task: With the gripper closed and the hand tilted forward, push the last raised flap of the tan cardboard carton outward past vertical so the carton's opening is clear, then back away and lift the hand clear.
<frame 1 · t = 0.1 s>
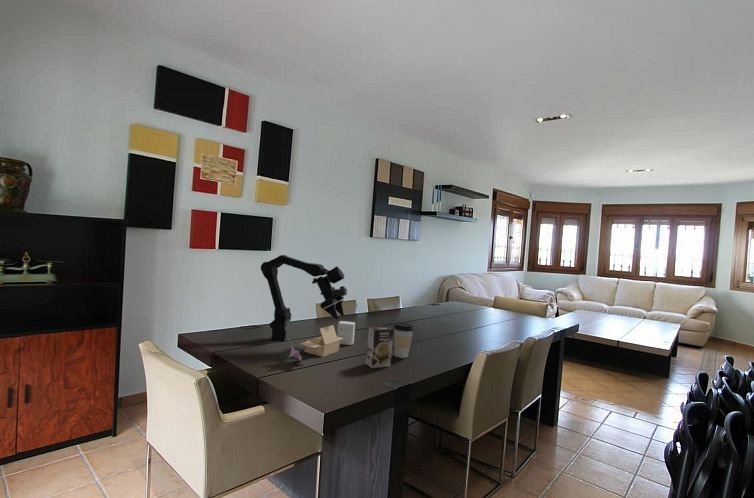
hand: (340, 317, 190), 15 cm above the table, tool tilted 35°, fingers open, 9 cm apart
lily: (294, 364, 163), on the table
coffee box: (377, 365, 170), on the table
carton: (321, 351, 183), on the table
coffee cup: (401, 356, 186), on the table
flap: (329, 334, 181), point 8 cm above the table, hinge at 62.0°
small box: (345, 343, 201), on the table
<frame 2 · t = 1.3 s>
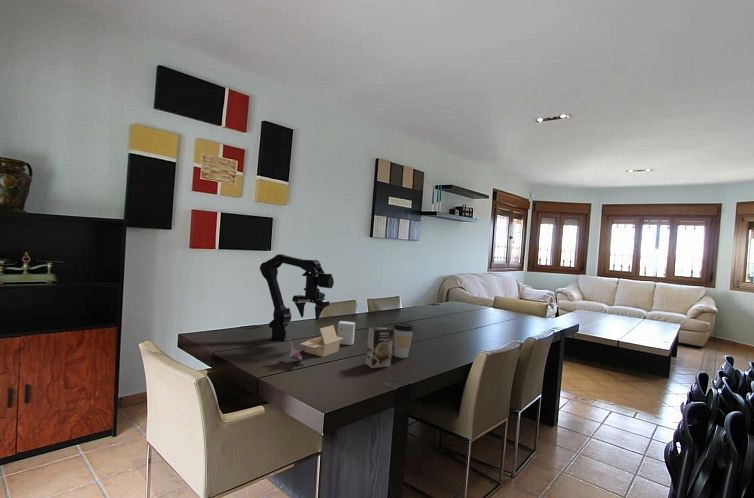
hand: (309, 318, 191), 13 cm above the table, tool pointing down, fingers open, 9 cm apart
nothing on the table moved.
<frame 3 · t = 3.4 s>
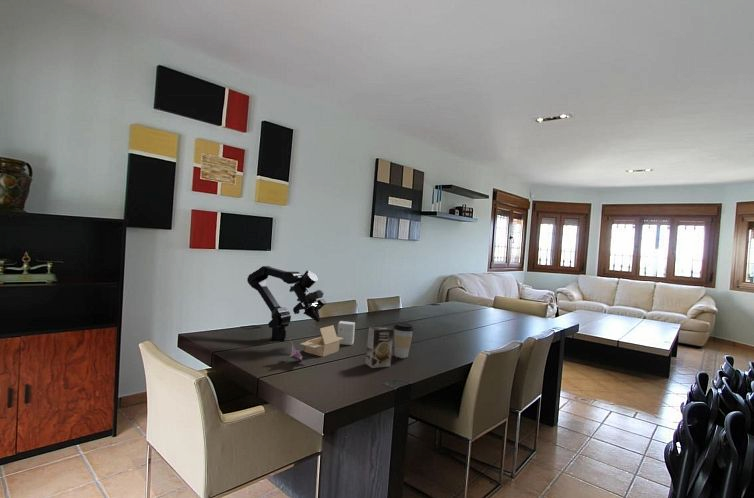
hand: (319, 321, 184), 13 cm above the table, tool tilted 45°, fingers closed
nothing on the table moved.
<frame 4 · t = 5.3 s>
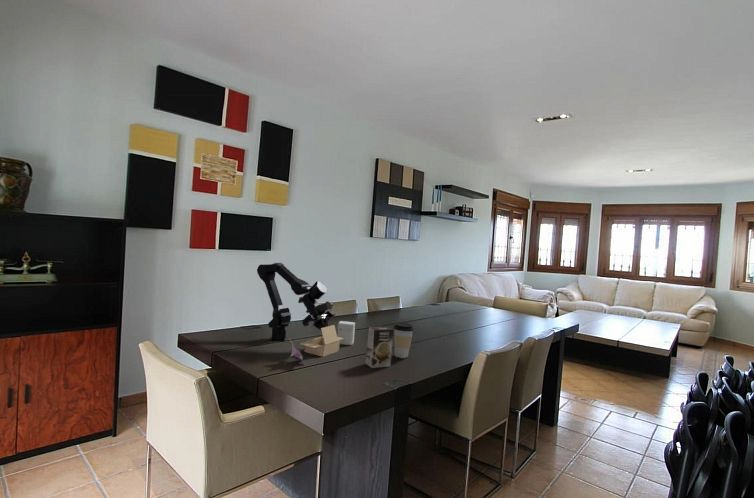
hand: (328, 333, 181), 9 cm above the table, tool tilted 45°, fingers closed, pressing on flap
flap: (329, 334, 181), point 8 cm above the table, hinge at 67.0°, touching gripper
everything else where it was.
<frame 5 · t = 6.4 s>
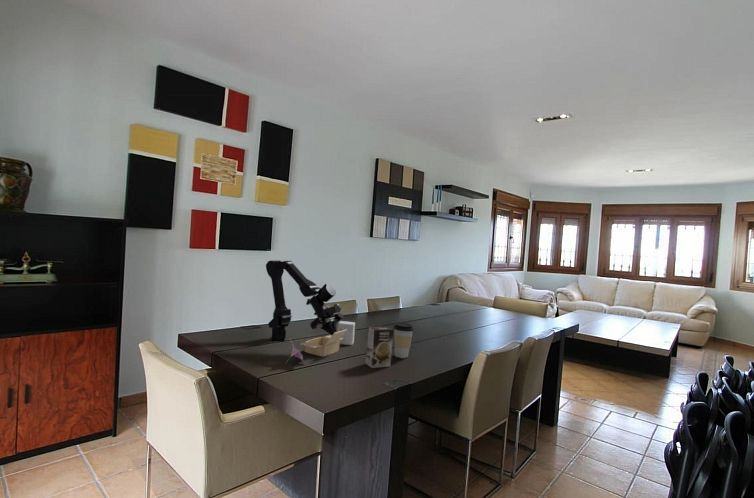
hand: (336, 336, 179), 8 cm above the table, tool tilted 40°, fingers closed, pressing on flap
flap: (336, 337, 179), point 8 cm above the table, hinge at 125.8°, touching gripper
everything else where it was.
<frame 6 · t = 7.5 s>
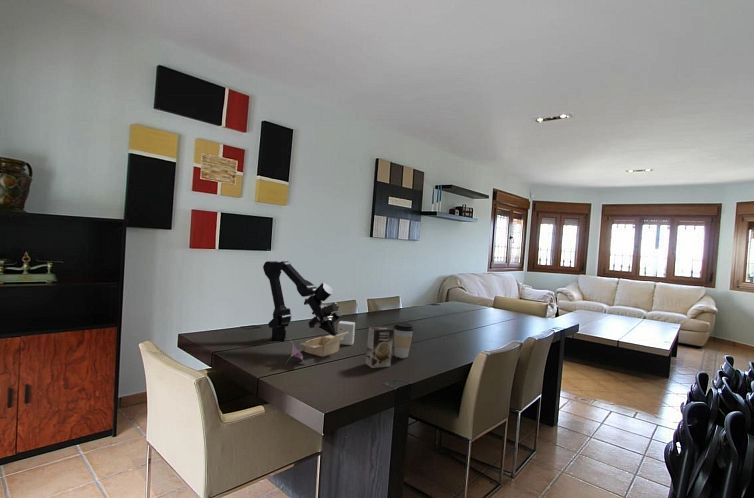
hand: (334, 335, 180), 9 cm above the table, tool tilted 45°, fingers closed
flap: (337, 338, 179), point 8 cm above the table, hinge at 136.3°
everything else where it was.
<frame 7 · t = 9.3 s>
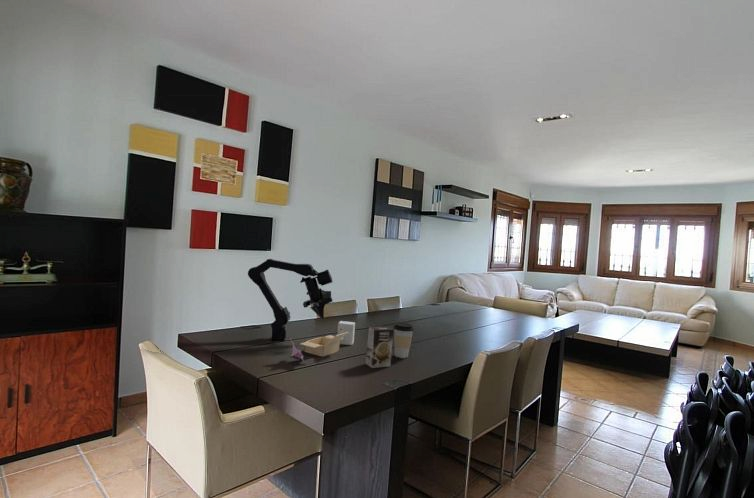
hand: (322, 318, 197), 12 cm above the table, tool tilted 20°, fingers closed
nothing on the table moved.
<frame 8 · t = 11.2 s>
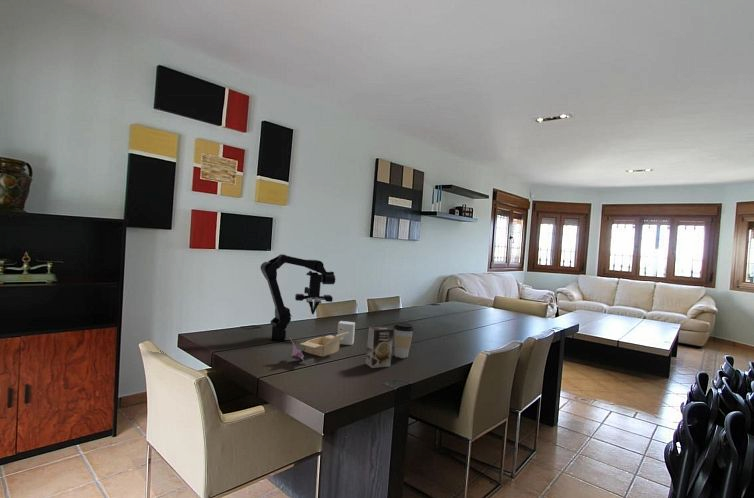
hand: (312, 314, 206), 12 cm above the table, tool pointing down, fingers closed
at the end: flap at +136° (first picture: +62°) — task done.
